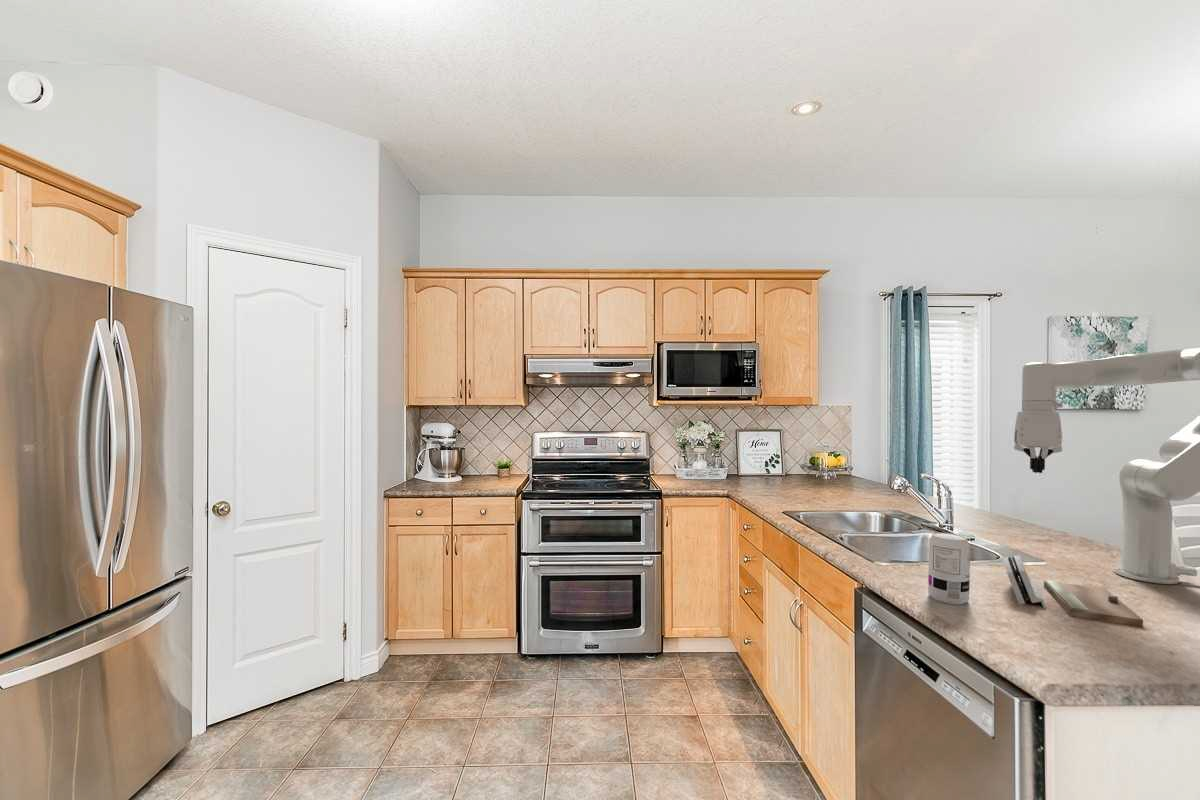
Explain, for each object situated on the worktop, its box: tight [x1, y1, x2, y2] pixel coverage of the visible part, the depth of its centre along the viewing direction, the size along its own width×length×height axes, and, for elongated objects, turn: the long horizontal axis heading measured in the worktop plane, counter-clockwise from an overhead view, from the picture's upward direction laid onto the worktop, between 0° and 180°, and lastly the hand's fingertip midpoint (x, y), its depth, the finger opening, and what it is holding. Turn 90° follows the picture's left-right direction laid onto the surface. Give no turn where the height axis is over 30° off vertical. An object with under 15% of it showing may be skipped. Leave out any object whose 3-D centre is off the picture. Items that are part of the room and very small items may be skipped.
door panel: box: [1043, 580, 1144, 628], centre depth 129 cm, size 12×21×3 cm, turn 154°
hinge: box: [1002, 555, 1047, 609], centre depth 136 cm, size 17×5×10 cm, turn 147°
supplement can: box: [927, 532, 971, 606], centre depth 132 cm, size 8×8×15 cm
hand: (1037, 472), depth 155 cm, fingers closed
